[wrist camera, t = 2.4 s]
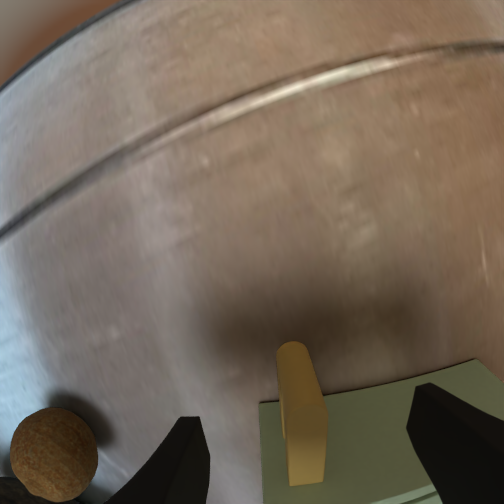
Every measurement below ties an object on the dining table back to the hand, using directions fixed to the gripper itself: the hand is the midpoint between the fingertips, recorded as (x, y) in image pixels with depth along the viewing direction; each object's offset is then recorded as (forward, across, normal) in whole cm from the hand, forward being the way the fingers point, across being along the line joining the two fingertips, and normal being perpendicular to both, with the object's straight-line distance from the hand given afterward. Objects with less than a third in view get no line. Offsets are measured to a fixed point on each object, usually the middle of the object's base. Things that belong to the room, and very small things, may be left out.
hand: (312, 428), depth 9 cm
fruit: (+8, +16, +8) cm, 20 cm away
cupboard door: (+8, -6, +3) cm, 11 cm away
